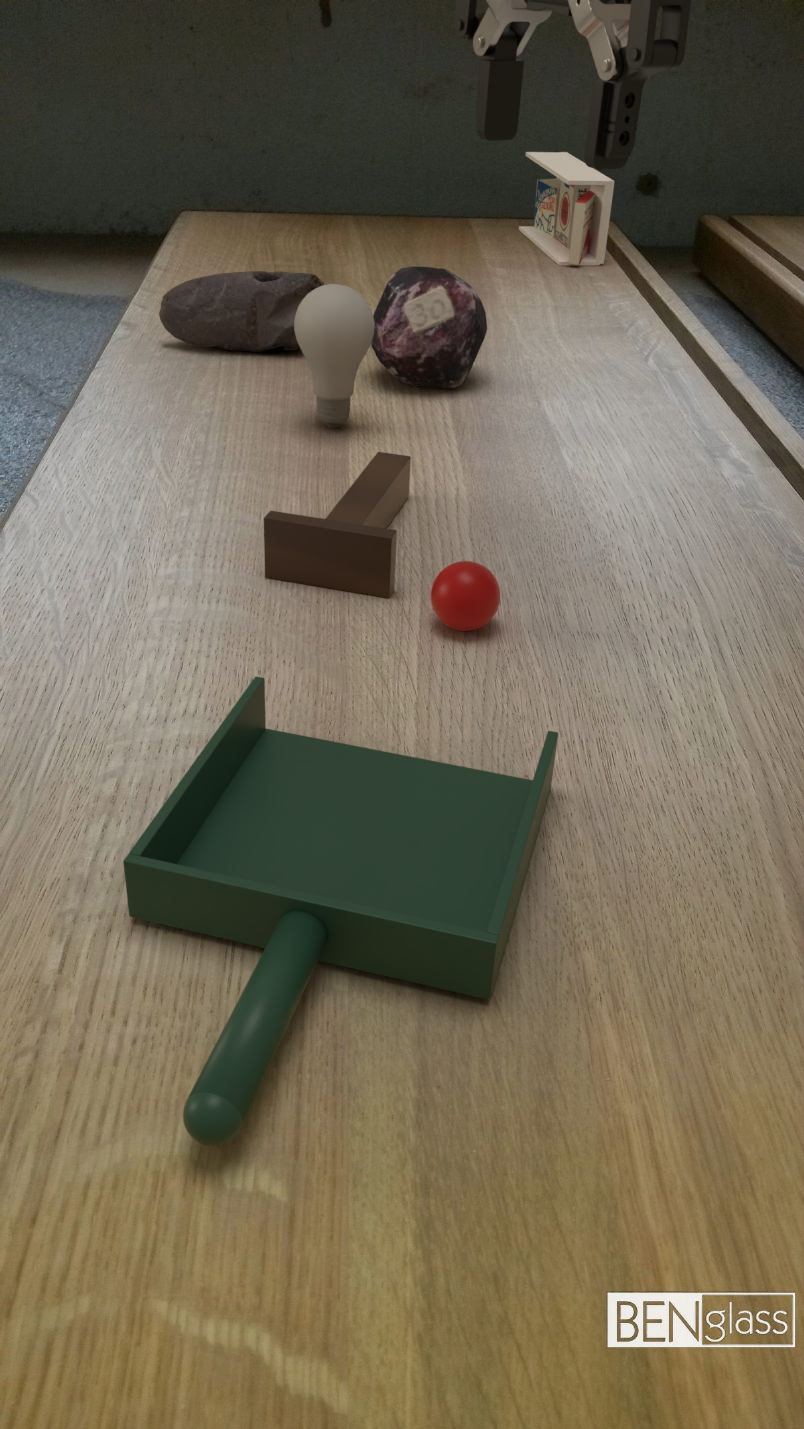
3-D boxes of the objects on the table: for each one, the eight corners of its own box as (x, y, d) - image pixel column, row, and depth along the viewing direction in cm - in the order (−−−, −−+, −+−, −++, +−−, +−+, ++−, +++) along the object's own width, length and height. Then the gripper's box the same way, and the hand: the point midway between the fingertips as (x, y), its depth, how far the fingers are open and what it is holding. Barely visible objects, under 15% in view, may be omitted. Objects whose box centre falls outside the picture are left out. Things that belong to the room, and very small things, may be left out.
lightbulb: (282, 418, 98) (281, 278, 92) (351, 409, 101) (354, 272, 94) (313, 445, 94) (314, 299, 88) (384, 434, 96) (389, 292, 90)
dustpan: (256, 731, 61) (255, 675, 59) (550, 788, 58) (558, 731, 57) (-1, 1117, 42) (-15, 1051, 40) (425, 1233, 39) (431, 1168, 37)
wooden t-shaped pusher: (339, 485, 87) (340, 432, 85) (447, 501, 86) (451, 447, 84) (264, 577, 75) (263, 517, 73) (389, 598, 74) (391, 538, 71)
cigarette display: (518, 229, 160) (525, 151, 154) (559, 229, 161) (567, 152, 155) (562, 268, 143) (571, 182, 138) (607, 268, 144) (618, 183, 139)
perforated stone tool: (156, 352, 111) (150, 274, 107) (166, 335, 115) (162, 259, 111) (320, 361, 111) (321, 282, 107) (325, 344, 115) (326, 268, 111)
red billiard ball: (503, 616, 72) (509, 555, 70) (489, 648, 69) (495, 586, 67) (438, 605, 73) (442, 544, 71) (421, 636, 70) (425, 574, 68)
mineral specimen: (337, 365, 104) (363, 245, 102) (397, 385, 113) (422, 274, 111) (434, 387, 100) (464, 261, 97) (489, 405, 109) (517, 290, 107)
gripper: (779, -256, 49) (702, 175, 58) (553, -240, 59) (517, 127, 68) (644, -279, 46) (585, 184, 55) (426, -259, 55) (406, 133, 64)
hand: (547, 152), depth 61 cm, fingers open, 8 cm apart
